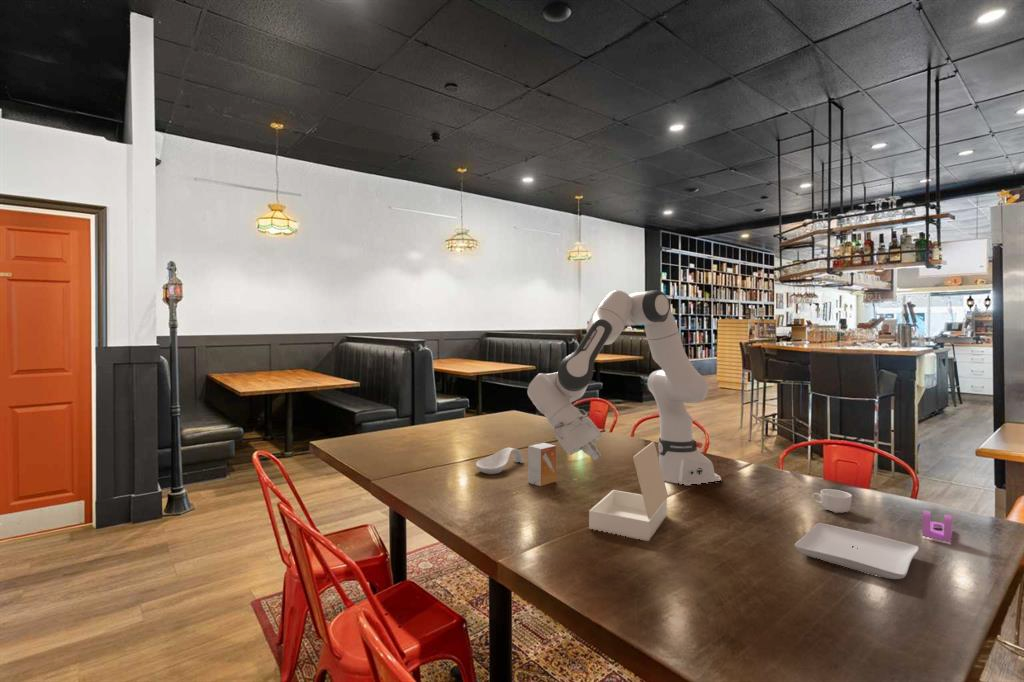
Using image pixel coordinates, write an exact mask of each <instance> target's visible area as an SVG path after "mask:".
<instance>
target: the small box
mask: <svg viewBox="0 0 1024 682" xmlns="http://www.w3.org/2000/svg"><path fill="white" fill-rule="evenodd" d="M527 453H528V455H527V461H528V462H527V465H528V467H527V469H528V470H527V483H529V484H531V485H534V484H535V485H534V486H538V487H543V486H546V485H549V484H553V483H556V482H557V481H556V480H557V477H556V476H557V445H554V444H550V443H548V442H547V443H546V442H541V443H536V444H531V445H528V450H527Z"/></svg>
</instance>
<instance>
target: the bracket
mask: <svg viewBox="0 0 1024 682" xmlns="http://www.w3.org/2000/svg"><path fill="white" fill-rule="evenodd" d="M931 514H932V513H931V511H929V510H922V532H921V533H922V536H925V537H929V538H933V539H937V540H941V541H946V542H950V543H951V544H952V540H951V538H952V539H953V516H952V515H950V514H944V515H943V516H944V517H943V518H944V519H943V520H944V521H943V522H939V521H931V519H932V518H931ZM934 526H939V527H942V528H943V530H937V529H933V528H934ZM922 536H921V537H922Z"/></svg>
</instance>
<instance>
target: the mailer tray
mask: <svg viewBox="0 0 1024 682" xmlns="http://www.w3.org/2000/svg"><path fill="white" fill-rule="evenodd" d="M667 502H668V498H667V499H666V500H665V501H664V503H663V504H662V505H661V506H660V508H659V509H658V510H657V512H656V513H655V514H654V516H653V517H652V518H651V519H650V520H649V519H648V515H647V511H646V507H645V503H644V500H643V496H642V493H641V494H640V493H634V492H628V491H621V490H615V489H612V490H611V491H610V492H608V494H607V495H605V496H604V497H602V499H601V500H600V501H599V502H597V503H596V504H595V505H594V506H592V507H591V509H589V510H588V525H589V526H588V529H589V530H592V529H593V530H592V531H596V530H598V531H597V532H601V531H603V532H602V533H606V532H608V533H607V534H611V533H612V534H611V535H615V534H617V535H616V536H620V535H621V536H620V537H625V536H626V537H625V538H629V539H630V538H631V539H634V540H639V539H640V540H641V541H645V542H650V541H651V539H652V537H653V536H654V534H656V532H657V530H658V529H659V528H660V526H661V525H662V523H663V522H664V520H665V519H666V518H667V512H668V511H667V510H668V509H667V508H668V506H667V505H668V503H667Z"/></svg>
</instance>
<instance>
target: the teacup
mask: <svg viewBox="0 0 1024 682" xmlns="http://www.w3.org/2000/svg"><path fill="white" fill-rule="evenodd" d="M814 496H818V498H819V499H820V501H819V500H817V499H815V498H814ZM852 498H853V495H852V493H850V492H846V491H843V490H838V489H832V488H824V489H821V490H820V493H818V492H814V493H813V494H812V495H811V499H812V500H813V501H814V502H815V503H817V504H820V505H822V507H823V508H824V510H826V509H827V510H830V511H834V512H846V513H848V512H849V511H850V509H851V506H852ZM827 510H826V511H827Z"/></svg>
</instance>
